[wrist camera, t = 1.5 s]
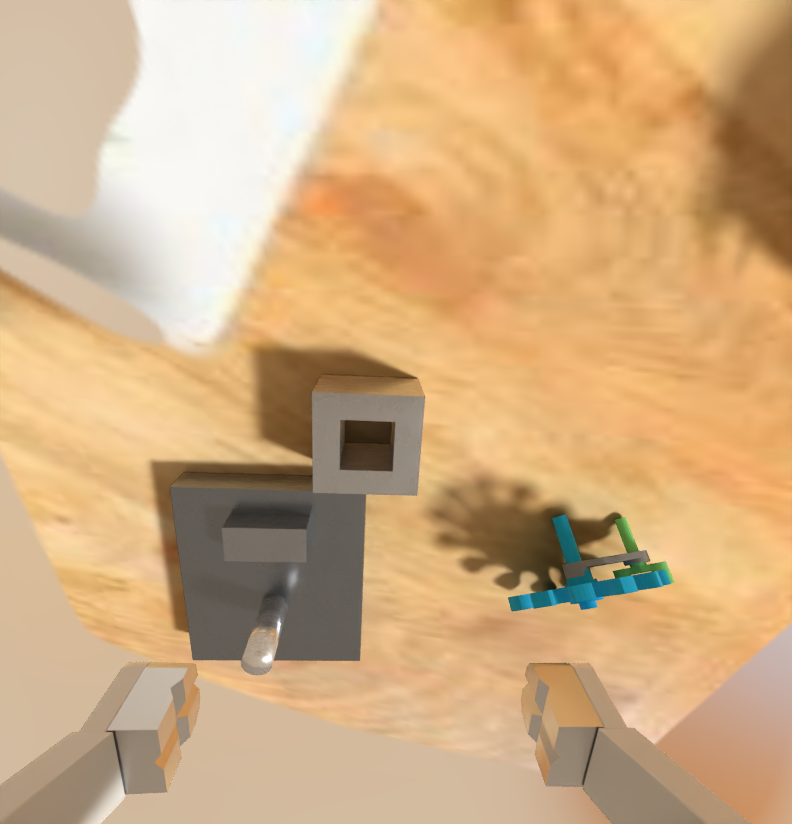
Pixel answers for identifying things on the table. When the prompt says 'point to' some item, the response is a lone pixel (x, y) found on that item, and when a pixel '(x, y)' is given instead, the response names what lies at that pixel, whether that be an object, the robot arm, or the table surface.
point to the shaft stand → (269, 568)
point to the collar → (366, 462)
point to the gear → (581, 578)
